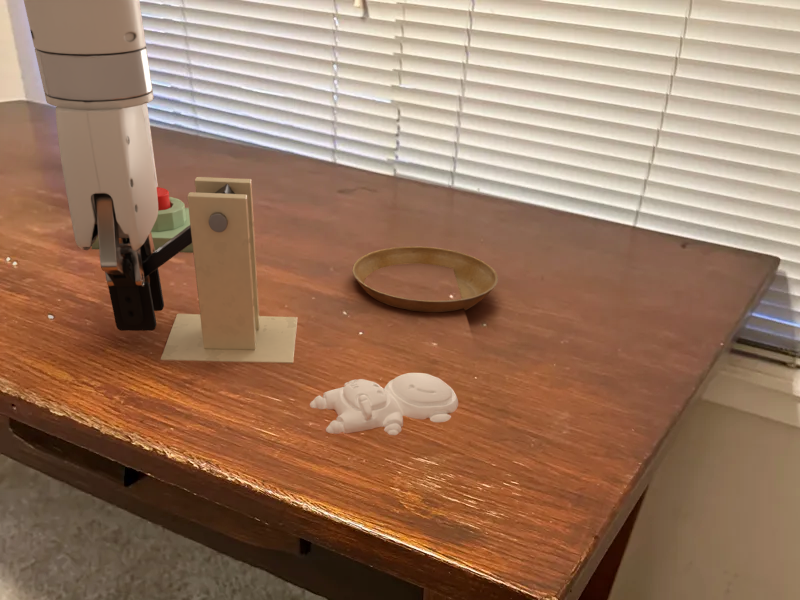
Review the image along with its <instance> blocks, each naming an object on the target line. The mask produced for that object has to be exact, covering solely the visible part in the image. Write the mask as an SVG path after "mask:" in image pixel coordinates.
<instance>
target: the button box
mask: <svg viewBox="0 0 800 600" xmlns="http://www.w3.org/2000/svg"><path fill="white" fill-rule="evenodd" d="M169 199H170V208H169V209H166V210H159V211H158V216H157V219H156V221H155V224H154V226H153V228H152V230H151V234H152V239H153V244H154V249H155V251H156V250H157V249H159V248H160V247H161V246H163V245H164V244H165V243H167V242H168V241H169V240H171V239H172V238H173V237H175V236H176V235H177V234H179V233H180V232H181V231H183V230H184V229H185V228H187V227H188V226H189V225H190V217H189V208H188V207H186V206H185V205H186V204H185V202H183V201H182V200H181V199H179V198H177V197H174V196H173V197H172V196H169ZM90 248H91V250H98V251H99V238H98V237H97V238H96V240H95V241H94V243H93V244H92V246H91V247H90ZM179 253H183V254H184V253H187V254H188V253H189V254H193V245H192V243H191V244H190V245H188V246H187V247H186V248H184V249H183V250H182V251H180V252H179Z"/></svg>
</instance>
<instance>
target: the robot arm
mask: <svg viewBox="0 0 800 600" xmlns="http://www.w3.org/2000/svg"><path fill="white" fill-rule="evenodd" d="M23 3H24V8H25V13H26V17H27V21H28V26H29V30H30V35H31V38H32V40H31V41H32V43H33V48H34V53H35V57H36V62H37V66H38V72H39V76H40V80H41V84H42V89H43V92H44V97H45V102H46V103H47V104H48V105H50V106H53V107H55V121H56V123H55V124H56V132H57V141H58V149H59V156H60V163H61V169H62V175H63V181H64V186H65V187H64V188H65V193H66V198H67V199H66V200H67V206H68V209H69V215H70V221H71V227H72V231H73V236H74V241H75V244H76V246H77V247H78V248H79V249H80V250H82V251H89V250H90V249H91V248H92V247H91V246H92V244H93V243H94V241H95V240H96V238H97V237H98V238H99V250H98V251H99V265H100V267H101V270H102V271H103V272H104V274H105V281H106V284H107V287H108V293H109V297H110V302H111V307H112V312H113V317H114V321H115V322H114V323H115V326H116V329H117V330H119V331H122V332H124V331H125V332H126V331H127V332H128V331H129V332H133V331H135V332H136V331H137V332H138V331H139V332H141V331H142V332H144V331H154V330H156V327H157V318H156V312H161V311H163V309H164V307H165V302H164V296H163V289H162V283H161V277H160V273H159V272H160V270H159V268H157V269H156V270H155V271H153V272H152V273H151V274H149V277H150V284H149V282H145V279H144V272H143V265H142V260H144V259H145V258H146V257H148V256H149V255H150V254H152V253H153V252H155V249H154V244H153V239H152V234H151V230H152V228H153V226H154V224H155V221H156V219H157V216H158V197H157V188H156V181H155V174H154V168H153V162H152V156H151V150H150V145H149V139H148V134H147V129H146V124H145V117H144V114H143V109H142V105H143V104H145V103H147V104H149V103H151V102H152V101H153V100H154V99H155V97H154V90H153V82H152V77H151V70H150V61H149V56H148V48H147V42H146V34H145V29H144V28H145V27H144V23H143V16H142V9H141V2H140V0H23ZM129 259H132V263H130V261H129ZM132 265H133V266H132Z"/></svg>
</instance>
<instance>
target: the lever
mask: <svg viewBox="0 0 800 600" xmlns="http://www.w3.org/2000/svg"><path fill="white" fill-rule="evenodd" d="M215 193H222V194H235V193H234V192H233V190H232V189H231V188H230V186H229V185H228V184H226V185H224V186H223V187H222V188H221V189H219V190H218V191H217V192H215ZM191 243H192V235H191V226H190V225H189V226H188V227H187V228H185V229H184V230H183V231H181V232H180V233H179V234H177V235H176V236H175V237H173V238H172V239H171V240H169V241H168V242H167V243H165V244H164V245H163V246H161V247H160V248H159V249H157V250H156V251H155V252H153V253H152V254H150V255H149V256H148V257H146V258H145V259H144V260H142V265H143V272H144V279H145V282H149V284H150V277H149V274H151V273H152V272H153V271H155V270H156V269H157V268H158V269H159V268H161V266H163V265H164V264H166V263H167V262H168V261H170V260H172V259H173V258H174V257H176V255H178V254H179V253H181V252H180V251H182V250H183V249H184V248H186V247H187V246H188V245H190V244H191ZM129 261H130V263H132V259H129ZM132 266H133V265H132Z"/></svg>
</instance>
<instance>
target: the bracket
mask: <svg viewBox="0 0 800 600" xmlns="http://www.w3.org/2000/svg"><path fill="white" fill-rule="evenodd" d="M226 184H228V185H229V186H230V188H231V189H232V190H233V192H234V193H235V194H222V193H215V192H217V191H218V190H219V189H221V188H222V187H223V186H224V185H226ZM194 190H195V191H192V192H191V191H190V192H188V194H187V197H186V198H187V206H188V207H187V208H189V217H190V226H191V235H192V245H193V253H192V254H193V262H194V270H195V271H194V272H195V280H196V289H197V299H198V308H199V313H176V316H175V319H174V321H173V325H172V327H171V329H170V331H169V335H168V338H167V340H166V343H165V346H164V348H163V351H162V353H161V357H160V359H159V360H160V361H170V362H171V361H173V362H175V361H176V362H206V363H207V362H210V363H211V362H214V363H249V364H250V363H251V364H252V363H255V364H294V362H295V360H294V359H295V351H296V339H297V330H298V316H274V315H273V316H270V315H260V302H259V284H258V283H259V281H258V268H257V251H256V249H257V248H256V235H255V234H256V233H255V217H254V216H255V215H254V200H253V183H252V179H251V178H235V177H234V178H231V177H210V176H196V177H195V179H194Z"/></svg>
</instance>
